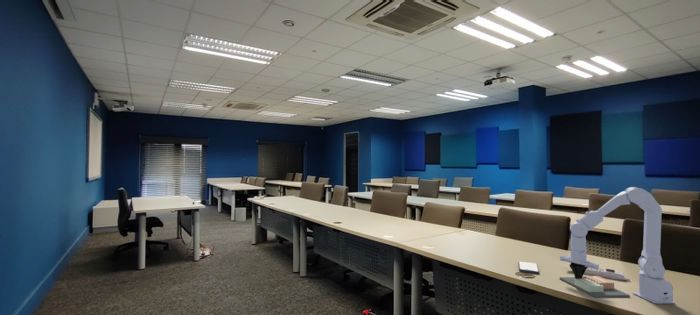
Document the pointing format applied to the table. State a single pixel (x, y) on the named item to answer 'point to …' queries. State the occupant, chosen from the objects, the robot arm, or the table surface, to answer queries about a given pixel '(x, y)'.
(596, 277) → the pink block
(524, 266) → the phone case
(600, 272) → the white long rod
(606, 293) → the mat
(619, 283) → the table surface
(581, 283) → the pale green rectangular block
